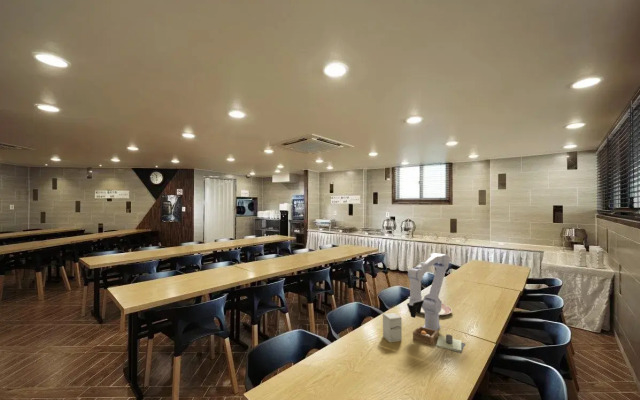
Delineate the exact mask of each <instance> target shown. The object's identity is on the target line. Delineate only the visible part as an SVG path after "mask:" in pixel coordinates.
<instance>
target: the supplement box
mask: <svg viewBox="0 0 640 400" xmlns="http://www.w3.org/2000/svg"><path fill="white" fill-rule="evenodd" d="M402 331H403V330H402V316H400V315H398V314H397V313H395V312H390V313H382V336H383V338H384V339H385V340H386V341H387V342H389V343H394V342H395V343H396V342H402V339H403V338H402V337H403V336H402V334H403V333H402Z"/></svg>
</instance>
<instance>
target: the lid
mask: <svg viewBox="0 0 640 400" xmlns="http://www.w3.org/2000/svg"><path fill="white" fill-rule="evenodd" d="M436 343H437V346H436V347H437V348H440V349H441V348H442V349H444V348H445V349H444V350H448V349H450V350H449V351H451V350H455V351H459V352H461V345H462V343H463V340H460V339H455V338H453V335H451V334H445V336H440V335H438V339H437V340H436ZM461 353H462V352H461Z"/></svg>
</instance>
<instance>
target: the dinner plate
mask: <svg viewBox="0 0 640 400" xmlns="http://www.w3.org/2000/svg"><path fill="white" fill-rule="evenodd" d="M452 312H453V309H452V308H451V307H450V306H449V305H446V304H445V303H442V304H441V311H440V312H439V317H440V315H441V316H445V315H446V316H447V315H449V314H451V313H452ZM420 314H422V315H425V311H424V310H423V309H422V307H421V312H420Z"/></svg>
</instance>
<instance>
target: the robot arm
mask: <svg viewBox="0 0 640 400" xmlns="http://www.w3.org/2000/svg"><path fill="white" fill-rule="evenodd" d="M450 261H451V260H450V256H449V254H444V253H439V252H431V253H430V254H429V257H428V258H427V259H426V260H425V261H424V262H423V261H421V262H419V264H417V265H416V266H415V267H413V268H409V270H408V272H407V277H408V280H409V296H408V297H407V299H408V302H407V303H406V306H407V307H408V310H409V314H410V317H411V318H414V319H415V318H416V316H417V314H418V315H420V314H421V313H420V312H421V307H422V309H423V310H424V311H425V314H424V325H423V326H422V327H425V328H429V329H433V330H436V331H439V329H440V328H441V327H442V325H441V324H440V316H439V312H440V311H441V304H443V303H442V300H441V299H440V298H439V296H440V293H441V288H442V285H443V281H444V279H445V274H446V273H447V270H448V269H449V265H450V263H451V262H450ZM432 266H433V268H435V273H434V276H433V280H432V283H431V286H430V289H429V293H428V294H426V295H424V297H423V296H422V290H421V289H422V280H423V277H424V276H425V274H426V273H427V272H428V271H429V270H430V267H432ZM422 297H423V298H422Z"/></svg>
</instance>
